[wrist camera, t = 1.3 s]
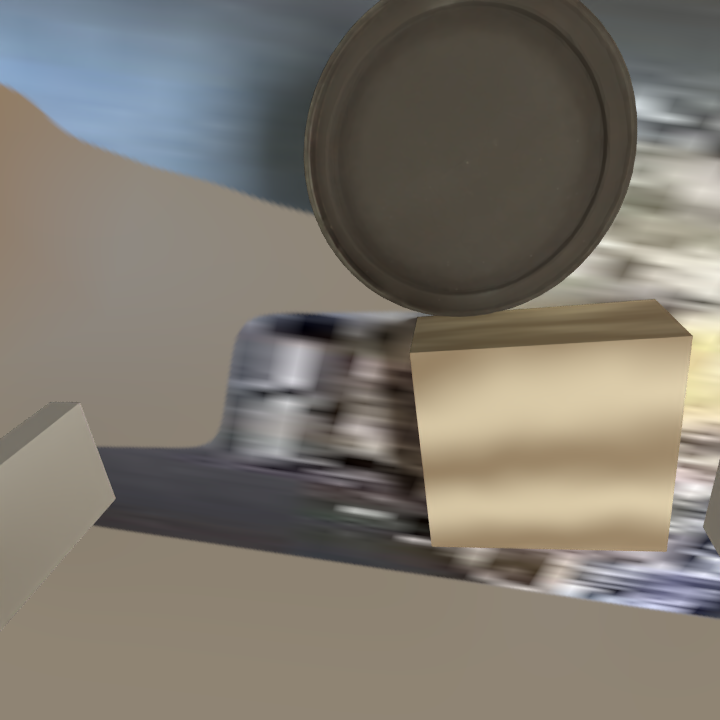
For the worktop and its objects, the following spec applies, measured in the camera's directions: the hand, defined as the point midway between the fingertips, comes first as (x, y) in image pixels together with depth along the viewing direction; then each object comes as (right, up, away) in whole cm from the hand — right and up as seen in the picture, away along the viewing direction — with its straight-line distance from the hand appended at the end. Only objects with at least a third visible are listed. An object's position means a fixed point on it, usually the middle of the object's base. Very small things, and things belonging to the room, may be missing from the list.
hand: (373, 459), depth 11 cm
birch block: (+11, -1, +24) cm, 27 cm away
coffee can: (+5, +14, +18) cm, 24 cm away
